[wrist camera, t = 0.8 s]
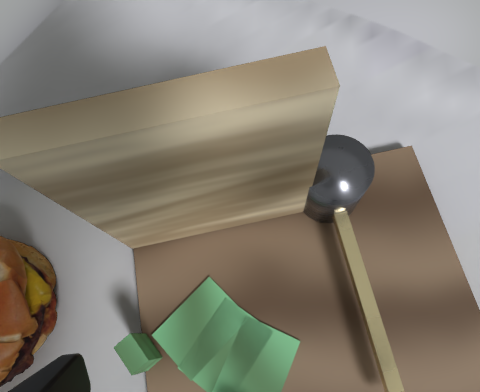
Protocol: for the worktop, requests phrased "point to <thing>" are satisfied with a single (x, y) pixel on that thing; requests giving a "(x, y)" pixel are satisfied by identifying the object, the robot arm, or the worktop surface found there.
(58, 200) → the wood grain plank
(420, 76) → the worktop surface
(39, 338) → the burger
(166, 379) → the tuner board
